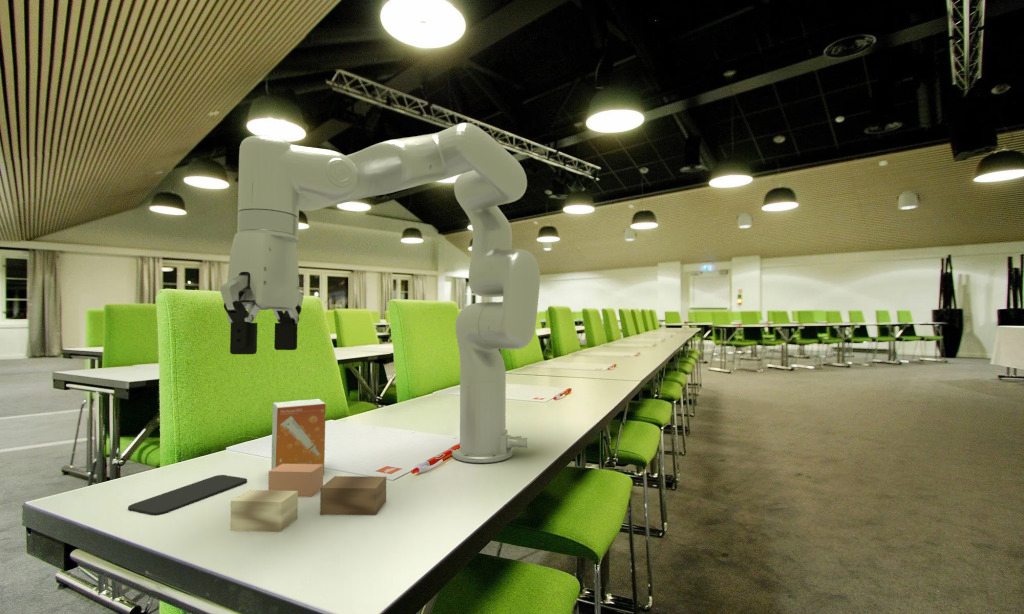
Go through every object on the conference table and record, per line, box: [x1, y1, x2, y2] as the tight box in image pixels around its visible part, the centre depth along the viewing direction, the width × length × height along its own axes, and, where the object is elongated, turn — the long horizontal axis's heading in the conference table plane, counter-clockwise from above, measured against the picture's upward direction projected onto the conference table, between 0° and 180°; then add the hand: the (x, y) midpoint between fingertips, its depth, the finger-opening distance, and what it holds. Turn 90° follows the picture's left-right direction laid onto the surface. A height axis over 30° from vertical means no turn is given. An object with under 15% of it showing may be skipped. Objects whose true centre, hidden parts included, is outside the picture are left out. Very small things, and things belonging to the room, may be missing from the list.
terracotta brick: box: [267, 464, 324, 498], centre depth 74 cm, size 7×4×4 cm, turn 86°
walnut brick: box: [319, 475, 387, 516], centre depth 68 cm, size 8×5×4 cm, turn 89°
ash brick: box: [229, 489, 299, 533], centre depth 62 cm, size 7×4×4 cm, turn 86°
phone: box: [127, 474, 248, 516], centre depth 73 cm, size 7×1×15 cm
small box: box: [270, 398, 327, 476], centre depth 83 cm, size 8×6×13 cm
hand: (266, 351), depth 63 cm, fingers open, 9 cm apart
